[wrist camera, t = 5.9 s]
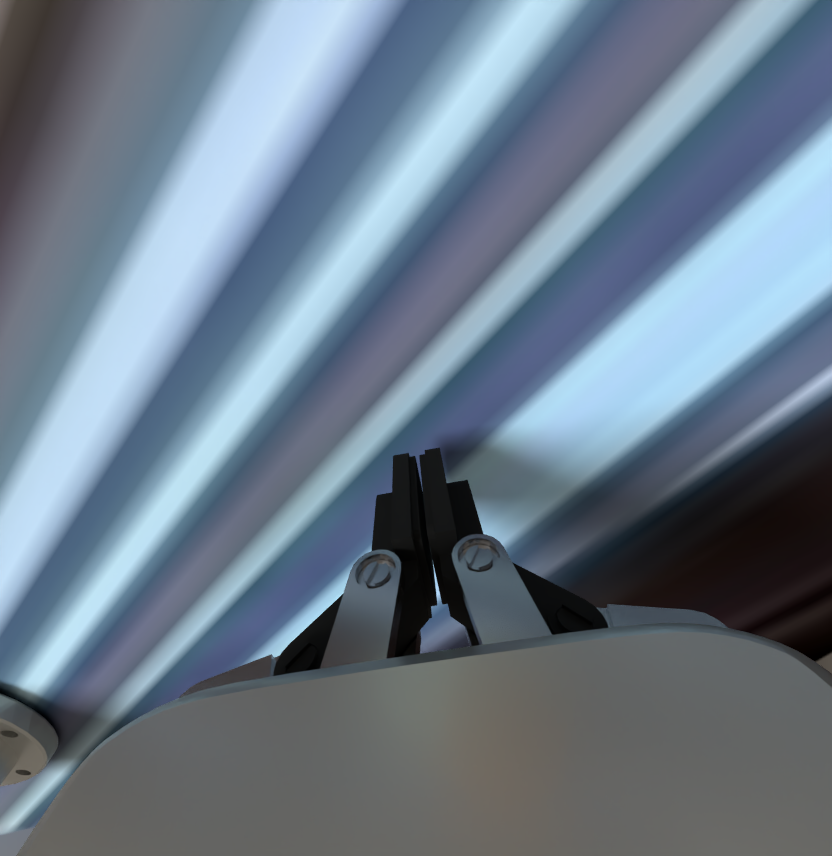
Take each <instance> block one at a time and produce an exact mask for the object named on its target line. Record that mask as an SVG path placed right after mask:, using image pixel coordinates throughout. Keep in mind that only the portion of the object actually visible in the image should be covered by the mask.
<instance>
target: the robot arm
mask: <svg viewBox="0 0 832 856" xmlns="http://www.w3.org/2000/svg"><path fill="white" fill-rule="evenodd" d="M420 466H421V477H422V486H421V482H420V477H419V472H418V468H417V463H416V458H415V456H412V457H409V453H406V454H400V455H395V456H393V484H392V493H386V494H381V495H377V498H376V508H375V519H374V530H373V541H372V551H371V552H369V553H366V554H365V555H363V556H362V557H360V558H359V559H358V560H357V561H356V563H355V564H354V565H353V567H352V569H351V571H350V574H349V578H348V581H347V584H346V587H345V590H344V594H342V595H341V596H340V597H339V598H338V599H337V600H336V601H335V602H334V603H333V604H332V605H331V606H330V607H329V608H328V609H326V610H325V611H324V612H323V613H322V614H321V615H320V616H319V617H318V618H317V619H316V620H315V621H314V622H313V623H311V624H310V625H309V626H308V627H307V628H306V629H305V630H304V631H303V632H302V633H301V634H300V635H299V636H298V637H297V638H295V639H294V640H293V641H292V642H291V643H290V644H289V645H288V646H287V647H286V649H285V650H284V651H283V652H282V653H281V655H280V656H278V657H275V658H274V657H273V656H272V654H271V655H269V656H266V657H264V658H261V659H258V660H256V661H253V662H251V663H248V664H245V665H243V666H240V667H238V668H235V669H232V670H230V671H227V672H225V673H222V674H220V675H217V676H214V677H212V678H209V679H207V680H204V681H201V682H199V683H197V684H196V685H194V686H192V687H190V688H189V689H188V690H187V691H186V692H185V693H183V694H182V695H181V696H180V697H179V698H178V699H176V700H173V701H171V702H169V703H166V704H164V705H162V706H159V707H157V708H155V709H154V710H152V711H150V712H148V713H146V714H144V715H142V716H141V717H139V718H137V719H135V720H133V721H132V722H130V723H129V724H127V725H126V726H124V727H122V728H121V729H119V730H118V731H117V732H115V733H114V734H112V735H111V736H110V737H108V738H107V739H106V740H104V741H103V742H102V743H101V744H100V745H99V746H98V747H97V748H96V749H94V750H93V751H92V752H91V753H90V754H89V756H88V757H87V758H86V759H85V760H84V761H83V762H82V763H81V764H80V766H79V767H78V768H77V769H76V771H75V772H74V773H73V774H72V776H71V777H70V778H69V779H68V781H67V782H66V784H65V785H64V786H63V788H62V789H61V790H60V792H59V793H58V794H57V796H56V797H55V799H54V800H53V802H52V803H51V805H50V806H49V807H48V809H47V810H46V812H45V813H44V815H43V816H42V818H41V819H40V821H39V822H38V823H37V825H36V826H35V828H34V829H33V831H32V832H31V834H30V836H29V837H28V839H27V840H26V842H25V843H24V845H23V846H22V848H21V849H20V851H19V852H18V854H17V856H832V674H831V673H830V672H829V671H827V670H826V669H824V668H823V667H821V666H820V665H819V664H817V663H816V662H815V661H813V660H811V659H810V658H808V657H806V656H805V655H803V654H802V653H800V652H798V651H796V650H794V649H792V648H790V647H788V646H785V645H783V644H781V643H778V642H776V641H773V640H770V639H767V638H764V637H761V636H757V635H754V634H751V633H747V632H742V631H738V630H733V629H729V628H728V627H726V626H725V625H724V624H722V623H721V622H720V621H719V620H717V619H716V618H713V617H711V616H709V615H707V614H705V613H702V612H698V611H693V610H682V609H668V608H653V607H639V606H624V605H610V604H608V606H607V609H606V608H596V607H595V606H594V605H592V604H591V603H589V602H588V601H586V600H584V599H582V598H580V597H579V596H577V595H575V594H573V593H571V592H569V591H567V590H565V589H563V588H561V587H559V586H557V585H555V584H553V583H551V582H549V581H547V580H545V579H543V578H541V577H540V576H538V575H536V574H534V573H532V572H530V571H528V570H526V569H524V568H522V567H520V566H518V565H516V564H514V563H512V561H511V559H510V558H509V556H508V554H507V552H506V550H505V549H504V547H503V546H502V544H501V543H500V542H499V541H498V540H496V539H495V538H493V537H491V536H488V535H484V534H483V531H482V528H481V524H480V521H479V517H478V514H477V510H476V507H475V504H474V500H473V497H472V493H471V490H470V486H469V483H468V480H464V481H458V482H452V483H446V478H445V473H444V468H443V463H442V458H441V453H440V448H435V449H429V450H425V454H424V455H420ZM422 487H423V491H422ZM432 559H433V560H432ZM433 564H434V568H435V573H436V577H437V582H438V586H439V591H440V595H441V600H442V604H448V606H449V611H450V616H451V617H453V618H454V619H455V620H457V621H458V622H460V623H461V624H462V625H464V626H465V632H466V635H467V638H468V641H469V644H470V647H464V648H457V649H450V650H443V651H436V652H429V653H423V654H420V645H421V632H420V630H421V628H422V627H423V626H424V625H425V623H426V622H427V621H428V620H429V618H432V614H431V606H435V605H437V598H436V588H435V579H434V569H433ZM57 747H58V736H57V734H56V732H55V729H54V728H53V726H52V725H51V724H50V723H49V722H48V721H47V720H46V719H45V718H44V717H43V716H41V715H40V714H39V713H37V712H36V711H35V710H33V709H31V708H30V707H28V706H26V705H24V704H22V703H21V702H19V701H17V700H15V699H12V698H10V697H8V696H5V695H3V694H1V693H0V786H5V785H10V784H15V783H18V782H21V781H24V780H27V779H29V778H31V777H33V776H35V775H36V774H38V773H40V772H41V771H42V770H43V769H44V767H45V766H46V765H47V763H48V762H49V760H50V759H51V757H52V756H53V754H54V753H55V751H56V749H57Z"/></svg>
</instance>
